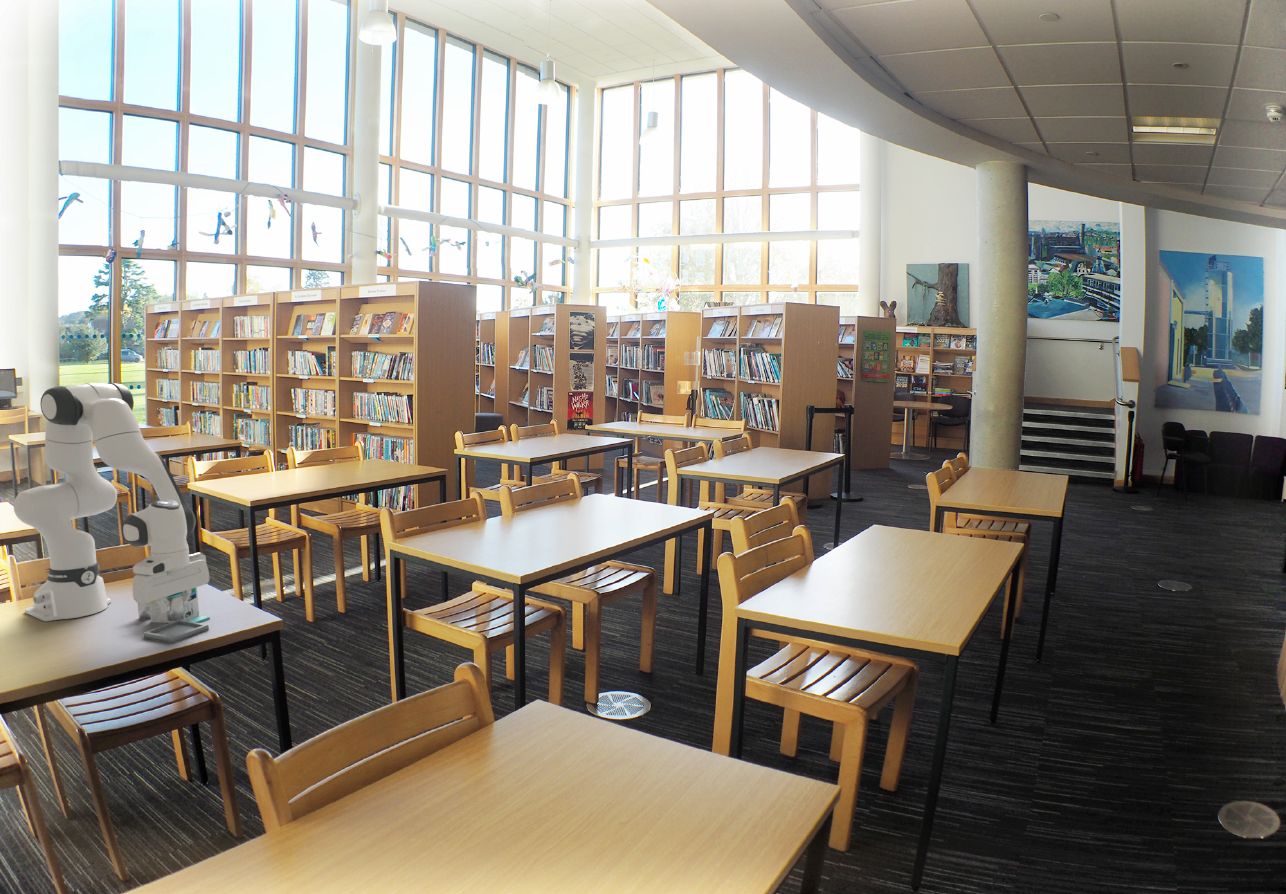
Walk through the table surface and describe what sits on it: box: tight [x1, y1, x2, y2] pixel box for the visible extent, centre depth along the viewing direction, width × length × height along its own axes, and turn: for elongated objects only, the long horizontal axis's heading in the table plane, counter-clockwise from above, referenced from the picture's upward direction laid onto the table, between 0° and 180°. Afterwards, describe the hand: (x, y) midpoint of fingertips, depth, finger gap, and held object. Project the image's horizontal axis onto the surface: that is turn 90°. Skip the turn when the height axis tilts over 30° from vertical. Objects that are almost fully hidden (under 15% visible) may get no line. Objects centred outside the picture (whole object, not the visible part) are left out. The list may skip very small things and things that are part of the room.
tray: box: [142, 620, 210, 645], centre depth 215 cm, size 11×11×2 cm
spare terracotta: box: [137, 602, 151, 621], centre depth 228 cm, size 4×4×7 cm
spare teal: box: [166, 592, 184, 621], centre depth 214 cm, size 4×4×7 cm
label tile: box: [188, 615, 211, 623], centre depth 225 cm, size 3×5×1 cm, turn 158°
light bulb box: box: [149, 587, 200, 624], centre depth 226 cm, size 11×7×11 cm, turn 84°
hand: (174, 609), depth 214 cm, fingers closed on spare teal, 4 cm apart
